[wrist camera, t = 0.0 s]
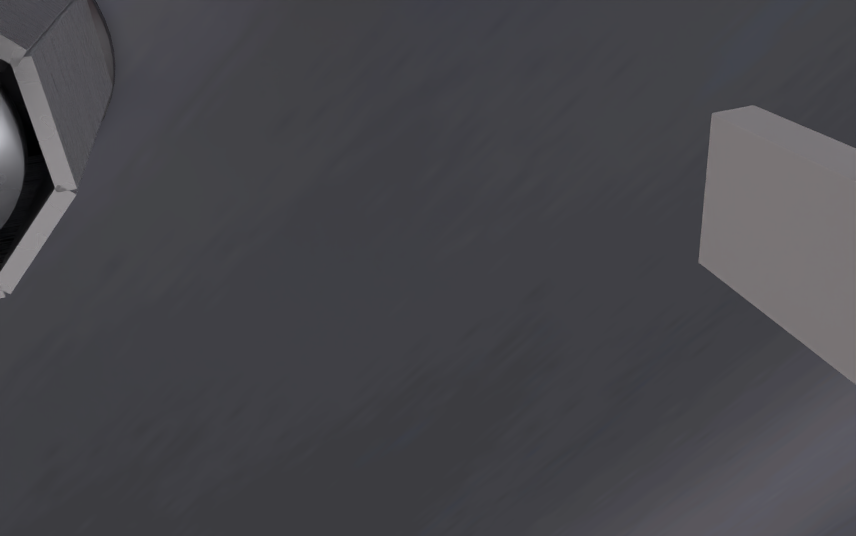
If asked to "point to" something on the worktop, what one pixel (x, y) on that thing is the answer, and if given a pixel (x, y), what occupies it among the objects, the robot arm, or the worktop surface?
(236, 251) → the worktop surface
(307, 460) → the worktop surface
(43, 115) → the octagonal silver cylinder
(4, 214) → the plunger
